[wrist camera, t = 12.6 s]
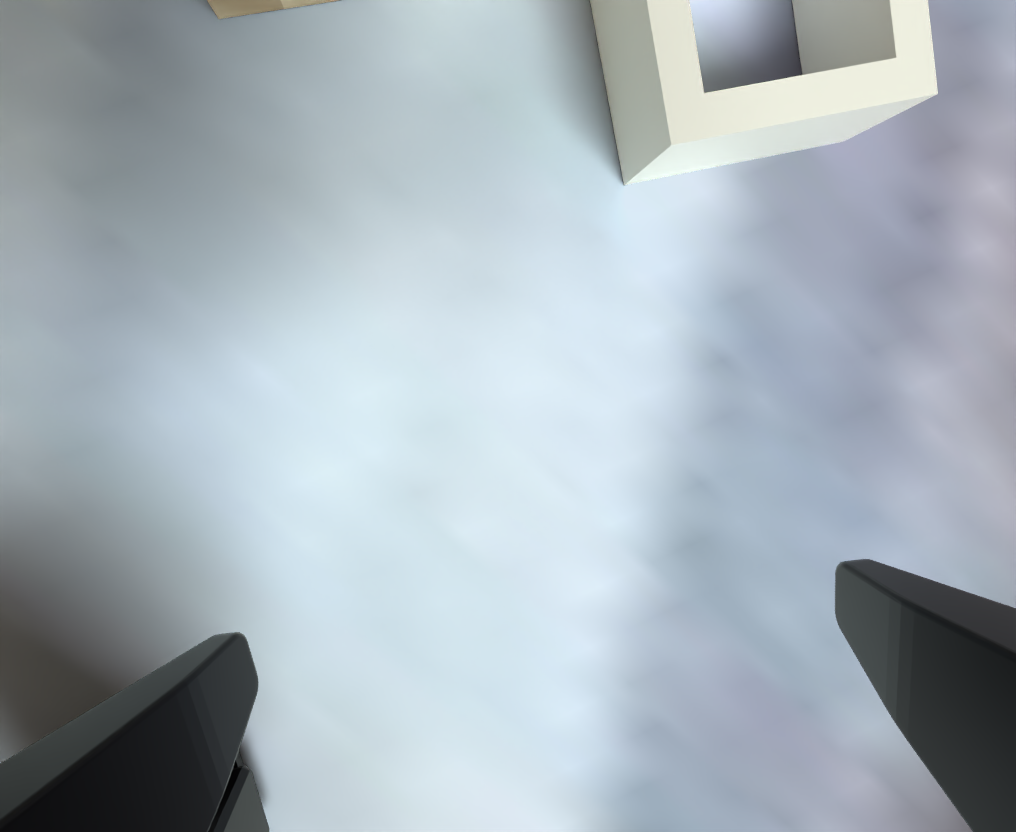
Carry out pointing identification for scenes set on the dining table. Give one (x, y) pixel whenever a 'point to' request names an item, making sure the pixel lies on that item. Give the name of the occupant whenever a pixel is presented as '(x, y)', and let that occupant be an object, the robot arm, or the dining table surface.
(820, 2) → the holster
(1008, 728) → the robot arm
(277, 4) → the socket block
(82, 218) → the dining table surface
